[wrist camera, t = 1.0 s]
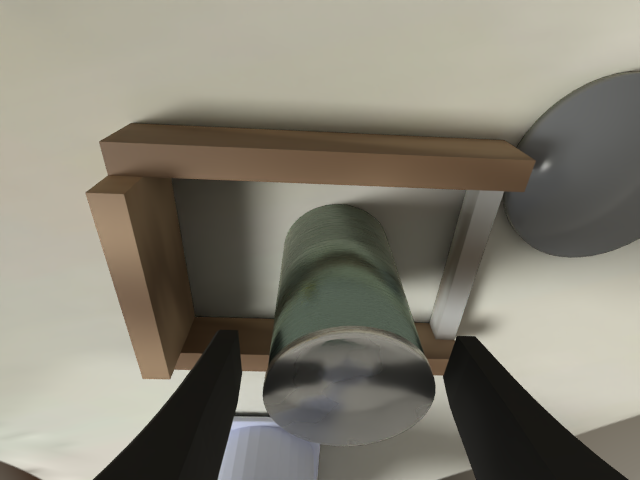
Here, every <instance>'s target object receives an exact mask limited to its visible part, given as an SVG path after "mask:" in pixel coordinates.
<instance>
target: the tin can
mask: <svg viewBox="0 0 640 480" xmlns="http://www.w3.org/2000/svg"><path fill="white" fill-rule="evenodd" d="M434 396H435V381H434V377H433V374H432V371H431V367H430V365H429V363H428V360H427V358H426V357H425V355H424V351H423V348H422V345H421V342H420V339H419V336H418V333H417V330H416V327H415V324H414V321H413V318H412V314H411V311H410V308H409V305H408V302H407V299H406V296H405V293H404V290H403V287H402V284H401V281H400V277H399V274H398V271H397V268H396V265H395V262H394V259H393V256H392V253H391V250H390V247H389V244H388V240H387V237H386V235H385V232H384V230H383V228H382V226H381V225H380V224H379V222H378V221H377V220H376V219H375V218H374V217H373V216H371V215H370V214H369V213H367V212H365V211H363V210H361V209H359V208H356V207H353V206H348V205H340V204H337V205H326V206H322V207H318V208H316V209H313V210H311V211H309V212H307V213H305V214H304V215H303V216H301V217H300V218H299V219H298V220H297V221H296V222H295V223H294V224H293V225H292V227H291V228H290V230H289V232H288V234H287V236H286V239H285V244H284V251H283V258H282V266H281V273H280V281H279V288H278V296H277V303H276V311H275V318H274V325H273V333H272V340H271V348H270V355H269V363H268V369H267V371H266V375H265V380H264V387H263V401H264V405H265V408H266V410H267V412H268V414H269V415H270V417H271V418H272V419H273V420H274V422H275V423H276V424H278V425H279V426H280V427H281V428H282V429H284V430H285V431H287V432H288V433H290V434H292V435H294V436H296V437H299V438H301V439H304V440H307V441H310V442H313V443H318V444H323V445H331V446H357V445H365V444H371V443H375V442H379V441H383V440H386V439H389V438H391V437H394V436H396V435H398V434H400V433H402V432H404V431H406V430H408V429H409V428H411V427H412V426H413V425H415V424H416V423H417V422H418V421H419V420H421V419H422V417H423V416H424V415H425V414H426V413H427V411H428V410H429V408H430V407H431V405H432V402H433V400H434Z"/></svg>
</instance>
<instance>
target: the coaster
mask: <svg viewBox="0 0 640 480" xmlns="http://www.w3.org/2000/svg"><path fill="white" fill-rule="evenodd" d="M517 149H519V150H520V151H522V152H523V153H525V154H526V155H528V156H530V157H531V158H533V159H534V160H536V162H535V164H534V167H533V170H532V173H531V175H530V178H529V181H528V184H527V186H526V189H525V192H507V191H504V193H503V204H504V209H505V213H506V215H507V218H508V220H509V222H510V224H511V225H512V227H513V228H514V229H515V231H516V232H517V233H518V234H519V235H520V236H521V237H522V238H523V239H524V240H525V241H526V242H527V243H528V244H529V245H531V246H532V247H534V248H536V249H537V250H539V251H541V252H544V253H547V254H550V255H554V256H559V257H586V256H593V255H598V254H602V253H606V252H609V251H612V250H615V249H618V248H620V247H623V246H625V245H628V244H630V243H631V242H633V241H635V240H637V239H639V238H640V71H630V72H623V73H617V74H613V75H610V76H606V77H603V78H600V79H598V80H595V81H593V82H590V83H588V84H586V85H584V86H582V87H580V88H578V89H577V90H575V91H573V92H571V93H570V94H568V95H567V96H565V97H564V98H562V99H561V100H559V101H558V102H557V103H556V104H554V105H553V106H552V107H551V108H550V109H548V110H547V111H546V112H545V113H544V114H543V115H542V116H541V117H540V118H539V119H538V120H537V121H536V122H535V123H534V124H533V126H532V127H531V128H530V129H529V130H528V132H527V133H526V134H525V136H524V137H523V139H522V140H521V142H520V143H519V144H518V146H517Z"/></svg>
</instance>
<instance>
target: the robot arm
mask: <svg viewBox="0 0 640 480" xmlns="http://www.w3.org/2000/svg"><path fill="white" fill-rule="evenodd" d="M241 377H242V365H241V355H240V344H239V334H238V330H218V331H217V332H216V333H215V335H214V337H213V338H212V340H211V341H210V343H209V345H208V346H207V348H206V349H205V351H204V352H203V354H202V355H201V357H200V358H199V360H198V361H197V363H196V364H195V365H194V367H193V368H192V370H191V371H190V372H189V374H188V375H187V376H186V378H185V379H184V380H183V382H182V383H181V385H180V386H179V387H178V388H177V390H176V391H175V392H174V393H173V395H172V396H171V397H170V398H169V400H168V401H167V402H166V403H165V404H164V406H163V407H162V408H161V409H160V411H159V412H158V413H157V414H156V415H155V416H154V418H153V419H152V420H151V421H150V422H149V423H148V424H147V426H146V427H145V428H144V429H143V430H142V431H141V432H140V433H139V434H138V435H137V436H136V437H135V439H134V440H133V441H132V442H131V443H130V444H129V445H128V446H127V447H126V448H125V449H124V450H123V451H122V452H121V453H120V454H119V455H118V456H117V457H116V458H115V459H114V460H113V461H112V462H111V463H110V464H109V465H108V466H107V467H106V468H105V469H104V470H103V471H101V472H100V473H99V474H98V475H97V476H96V477H95V478H94V479H93V480H317V477H318V466H319V454H320V444H318V443H313V442H310V441H307V440H304V439H301V438H299V437H296V436H294V435H292V434H290V433H288V432H287V431H285V430H284V429H282V428H281V427H280V426H279V425H278V424H276V423H275V422H274V420H273V419H272V418H271V417H249V416H234V415H235V411H236V407H237V403H238V396H239V390H240V383H241ZM443 379H444V383H445V388H446V393H447V397H448V401H449V405H450V409H451V411H452V414H453V417H454V420H455V423H456V426H457V428H458V431H459V434H460V437H461V439H462V442H463V445H464V448H465V450H466V453H467V456H468V458H469V461H470V464H471V467H472V469H473V471H474V475H475V478H476V480H628V479H627V478H626V477H624V476H623V475H622V474H620V473H619V472H618V471H617V470H615V469H614V468H613V467H611V466H610V465H609V464H607V463H606V462H605V461H603V460H602V459H601V458H600V457H599V456H597V455H596V454H595V453H594V452H593V451H591V450H590V449H589V448H588V447H587V446H585V445H584V444H583V443H582V442H581V441H580V440H578V439H577V438H576V437H575V436H574V435H572V434H571V433H570V432H569V431H568V430H567V429H566V428H565V427H563V426H562V425H561V424H560V423H559V422H558V421H557V420H556V419H555V418H554V417H553V416H552V415H551V414H549V413H548V412H547V411H546V410H545V409H544V408H543V407H542V406H541V405H540V404H539V403H538V402H537V401H536V400H535V399H534V398H533V397H532V396H531V395H530V394H529V393H528V392H527V391H526V390H525V389H524V388H523V387H522V386H521V385H520V384H519V383H518V382H517V381H516V380H515V379H514V378H513V377H512V376H511V375H510V373H509V372H508V371H507V370H506V369H505V368H504V367H503V366H502V365H501V364H500V363H499V362H498V361H497V360H496V358H495V357H494V356H493V355H492V354H491V353H490V352H489V351H488V350H487V349H486V348H485V346H484V345H483V344H482V343H481V342H480V341H479V340H478V339H477V338H476V337H475V336H457V337H456V340H455V343H454V346H453V349H452V352H451V355H450V358H449V361H448V364H447V366H446V369H445V372H444V375H443Z"/></svg>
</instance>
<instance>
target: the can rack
mask: <svg viewBox="0 0 640 480" xmlns="http://www.w3.org/2000/svg"><path fill="white" fill-rule="evenodd" d="M99 143H100V147H101V151H102V154H103V158H104V162H105V166H106V169H107V173H108V176H107V177H105V178H104V179H103V180H101V181H100V182H99V183H98V184H96V185H95V186H94V187H92V188H91V189H90V190H88V191H87V192H86V196H87V200H88V203H89V206H90V209H91V213H92V216H93V219H94V222H95V226H96V229H97V232H98V235H99V239H100V242H101V245H102V248H103V251H104V255H105V258H106V261H107V264H108V268H109V271H110V274H111V277H112V281H113V284H114V287H115V290H116V294H117V297H118V300H119V303H120V306H121V310H122V313H123V316H124V319H125V323H126V326H127V329H128V332H129V336H130V339H131V342H132V345H133V349H134V352H135V355H136V358H137V361H138V365H139V368H140V371H141V374H142V378H143V379H170V378H171V376H172V373H173V371H174V369H176V370H192V368H193V367H194V365H195V364H196V363H197V361H198V360H199V358H200V357H201V355H202V354H203V352H204V351H205V349H206V348H207V346H208V345H209V343H210V341H211V340H212V338H213V337H214V335H215V333H216V332H217V331H218V330H238V334H239V344H240V355H241V365H242V371H267V369H268V363H269V355H270V348H271V340H272V333H273V325H274V319H261V318H224V317H195V313H194V307H193V302H192V296H191V290H190V284H189V278H188V273H187V267H186V261H185V255H184V249H183V244H182V238H181V232H180V226H179V221H178V215H177V209H176V203H175V197H174V192H173V186H172V180H171V178H185V179H210V180H235V181H259V182H284V183H309V184H334V185H359V186H383V187H408V188H433V189H458V190H466V193H465V196H464V200H463V203H462V207H461V211H460V214H459V218H458V221H457V225H456V229H455V232H454V236H453V240H452V243H451V247H450V250H449V254H448V258H447V261H446V265H445V269H444V272H443V276H442V279H441V283H440V287H439V290H438V294H437V297H436V301H435V305H434V308H433V312H432V316H431V319H430V323H414V324H415V327H416V330H417V333H418V336H419V339H420V342H421V345H422V348H423V351H424V355H425V357H426V358H427V360H428V363H429V365H430V367H431V371H432V374H433V375H444V372H445V369H446V366H447V364H448V361H449V358H450V355H451V352H452V349H453V346H454V343H455V340H454V339H455V336H456V333H457V330H458V327H459V324H460V322H461V319H462V316H463V313H464V310H465V307H466V304H467V301H468V298H469V295H470V292H471V289H472V286H473V283H474V280H475V277H476V274H477V271H478V268H479V265H480V262H481V259H482V256H483V253H484V250H485V247H486V244H487V241H488V238H489V235H490V232H491V229H492V226H493V223H494V220H495V217H496V214H497V211H498V208H499V205H500V202H501V199H502V196H503V193H504V191H507V192H525V189H526V186H527V184H528V181H529V178H530V175H531V173H532V170H533V167H534V164H535V162H536V160H534V159H533V158H531V157H530V156H528V155H526V154H525V153H523V152H522V151H520V150H519V149H517V148H516V147H514V146H513V145H511V144H510V143H508V142H506V141H505V140H490V139H468V138H446V137H424V136H402V135H380V134H358V133H336V132H314V131H292V130H270V129H248V128H226V127H204V126H182V125H160V124H138V123H130V124H129V125H127V126H125V127H124V128H122V129H120V130H118V131H117V132H115V133H113V134H111V135H110V136H108V137H106V138H105V139H103V140H101V141H99Z"/></svg>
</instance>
